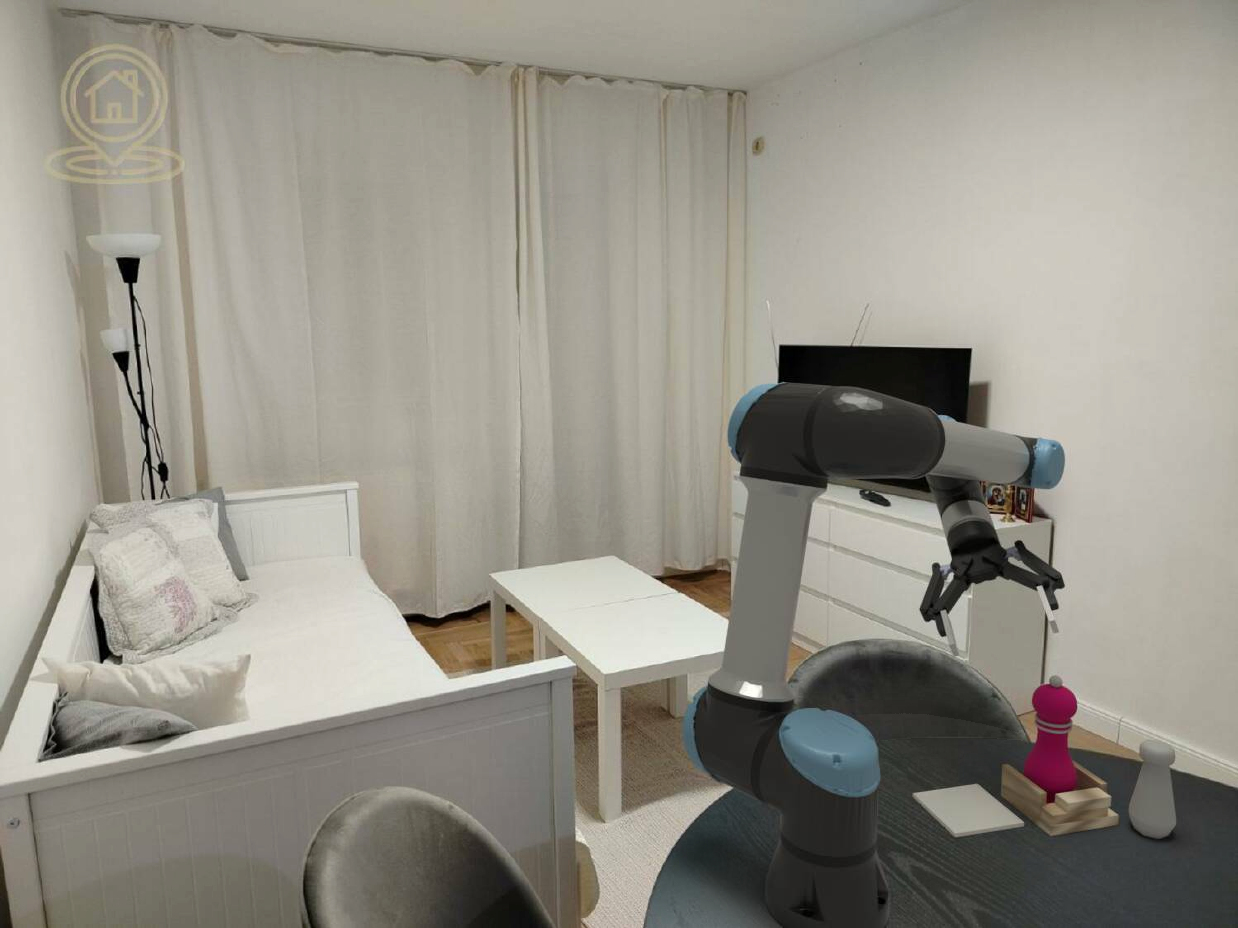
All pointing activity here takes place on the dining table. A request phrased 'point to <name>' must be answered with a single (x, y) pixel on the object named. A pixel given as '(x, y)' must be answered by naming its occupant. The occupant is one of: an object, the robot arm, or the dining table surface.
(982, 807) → the mat
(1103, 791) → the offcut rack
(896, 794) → the dining table surface
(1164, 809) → the salt shaker
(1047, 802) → the pepper mill
